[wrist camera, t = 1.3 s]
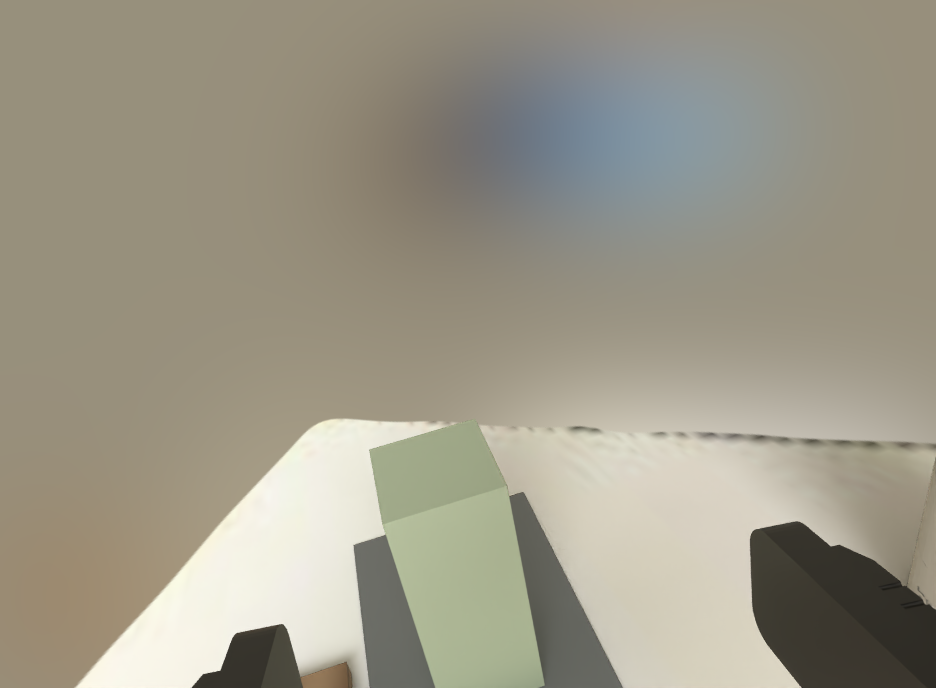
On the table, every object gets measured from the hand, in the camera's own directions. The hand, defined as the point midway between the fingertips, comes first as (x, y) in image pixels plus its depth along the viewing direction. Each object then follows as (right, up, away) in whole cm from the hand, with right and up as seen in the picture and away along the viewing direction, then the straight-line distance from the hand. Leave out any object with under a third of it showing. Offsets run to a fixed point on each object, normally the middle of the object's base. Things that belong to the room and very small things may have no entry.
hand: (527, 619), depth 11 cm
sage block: (0, -13, +25) cm, 28 cm away
